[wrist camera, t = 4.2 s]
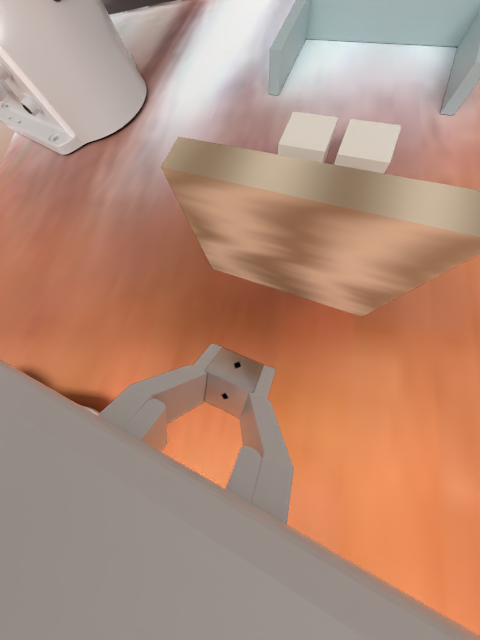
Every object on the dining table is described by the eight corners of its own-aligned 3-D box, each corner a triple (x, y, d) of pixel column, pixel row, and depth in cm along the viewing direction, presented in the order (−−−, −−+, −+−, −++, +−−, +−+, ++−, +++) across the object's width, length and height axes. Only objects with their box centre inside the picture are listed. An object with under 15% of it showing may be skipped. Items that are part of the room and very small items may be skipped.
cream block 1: (275, 186, 21) (278, 143, 17) (287, 158, 21) (293, 111, 17) (312, 194, 20) (325, 151, 16) (324, 164, 21) (338, 117, 17)
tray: (269, 94, 24) (269, 49, 21) (300, 32, 26) (305, -17, 23) (453, 115, 20) (491, 64, 17) (471, 40, 22) (508, -18, 19)
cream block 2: (322, 196, 20) (337, 154, 16) (334, 166, 20) (350, 118, 16) (364, 205, 19) (390, 162, 15) (374, 173, 20) (401, 125, 16)
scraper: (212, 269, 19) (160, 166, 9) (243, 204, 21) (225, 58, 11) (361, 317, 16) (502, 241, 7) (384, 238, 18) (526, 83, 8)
